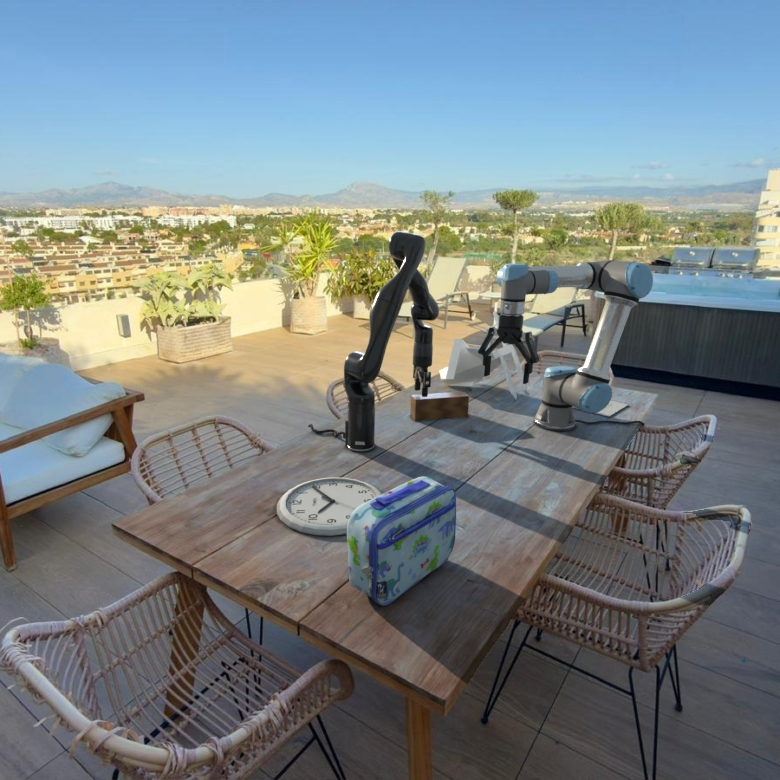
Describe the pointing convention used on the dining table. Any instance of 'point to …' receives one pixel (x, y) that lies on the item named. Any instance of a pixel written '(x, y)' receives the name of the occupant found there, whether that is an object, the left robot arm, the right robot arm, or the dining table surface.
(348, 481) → the wall clock
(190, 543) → the dining table surface
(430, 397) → the box
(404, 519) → the lunch box
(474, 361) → the white plastic object
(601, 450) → the dining table surface
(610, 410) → the invitation card
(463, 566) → the dining table surface
